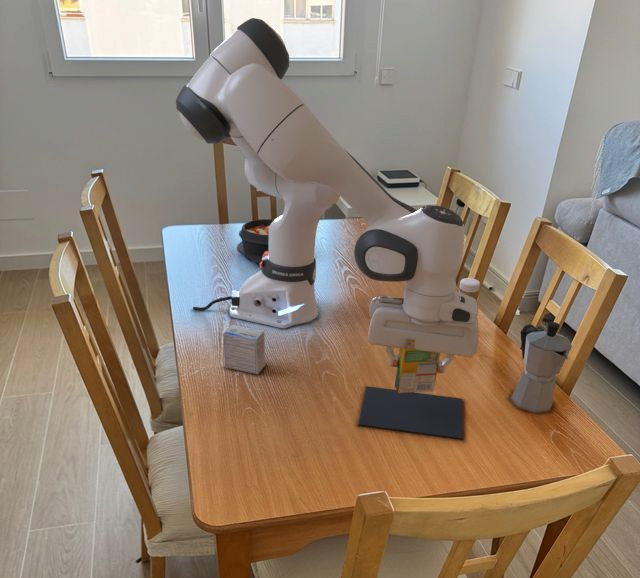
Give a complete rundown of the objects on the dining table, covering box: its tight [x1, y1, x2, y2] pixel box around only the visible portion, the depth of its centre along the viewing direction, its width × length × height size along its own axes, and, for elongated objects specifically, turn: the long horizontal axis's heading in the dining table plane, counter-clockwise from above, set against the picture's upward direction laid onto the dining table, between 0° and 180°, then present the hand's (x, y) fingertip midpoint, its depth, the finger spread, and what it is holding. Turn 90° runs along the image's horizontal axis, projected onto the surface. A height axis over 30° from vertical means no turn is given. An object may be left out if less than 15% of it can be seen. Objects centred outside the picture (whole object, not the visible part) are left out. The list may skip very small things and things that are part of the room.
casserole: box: [236, 218, 275, 264], centre depth 190 cm, size 25×19×8 cm
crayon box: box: [394, 340, 441, 394], centre depth 120 cm, size 7×3×12 cm, turn 100°
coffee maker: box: [509, 321, 573, 414], centre depth 127 cm, size 15×9×18 cm, turn 17°
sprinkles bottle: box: [459, 277, 481, 301], centre depth 152 cm, size 5×5×14 cm
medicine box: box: [222, 324, 266, 375], centre depth 135 cm, size 8×4×9 cm, turn 71°
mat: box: [357, 386, 464, 441], centre depth 127 cm, size 20×14×1 cm
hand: (417, 368), depth 120 cm, fingers closed on crayon box, 7 cm apart
